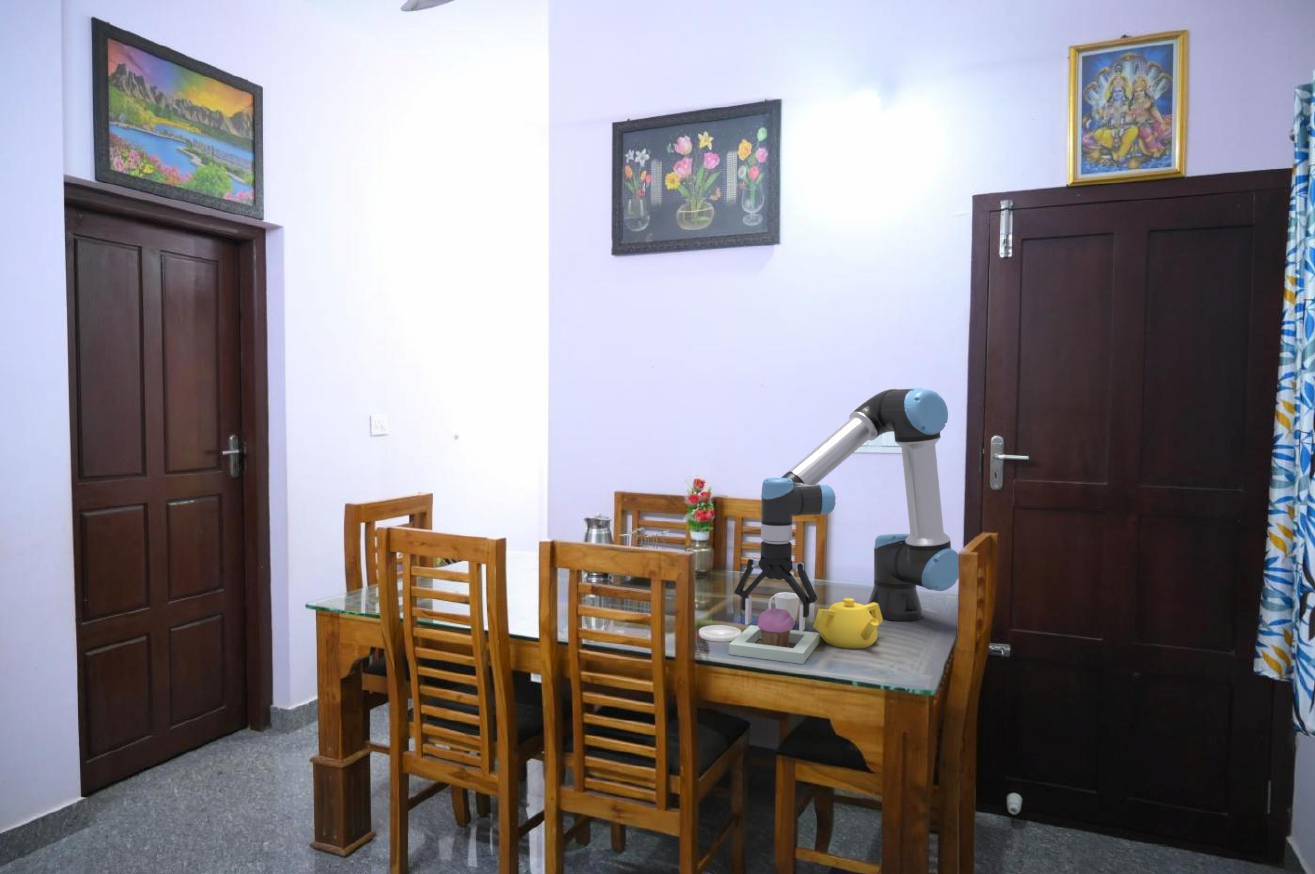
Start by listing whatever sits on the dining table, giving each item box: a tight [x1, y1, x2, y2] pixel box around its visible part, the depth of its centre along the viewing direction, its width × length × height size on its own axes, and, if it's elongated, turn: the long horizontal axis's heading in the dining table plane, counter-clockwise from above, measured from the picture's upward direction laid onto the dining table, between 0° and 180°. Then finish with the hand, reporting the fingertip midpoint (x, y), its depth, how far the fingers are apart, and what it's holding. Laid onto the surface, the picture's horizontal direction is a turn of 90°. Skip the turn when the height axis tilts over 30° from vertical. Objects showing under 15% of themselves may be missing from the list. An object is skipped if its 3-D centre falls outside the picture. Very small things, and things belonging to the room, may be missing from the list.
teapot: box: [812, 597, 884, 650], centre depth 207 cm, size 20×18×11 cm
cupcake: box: [757, 607, 795, 648], centre depth 202 cm, size 9×9×10 cm
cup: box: [767, 591, 801, 626], centre depth 225 cm, size 7×10×8 cm
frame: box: [728, 624, 820, 665], centre depth 202 cm, size 18×18×2 cm
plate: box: [698, 624, 742, 643], centre depth 213 cm, size 11×11×1 cm
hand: (774, 626), depth 202 cm, fingers open, 13 cm apart
